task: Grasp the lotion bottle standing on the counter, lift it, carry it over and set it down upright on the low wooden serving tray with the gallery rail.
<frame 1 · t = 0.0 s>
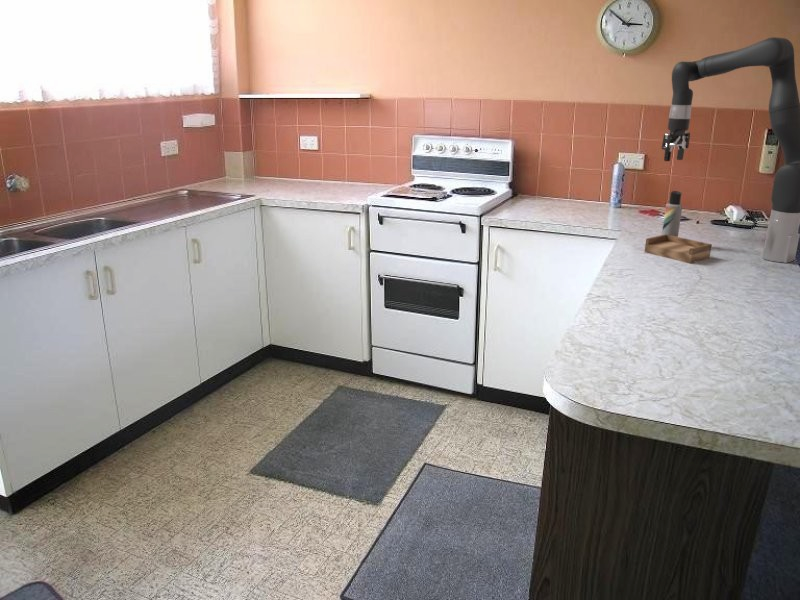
hand: (673, 160, 258), 29 cm above the worktop, fingers open, 8 cm apart
wooden serving tray: (676, 255, 237), on the worktop
lotion bottle: (668, 244, 252), on the worktop
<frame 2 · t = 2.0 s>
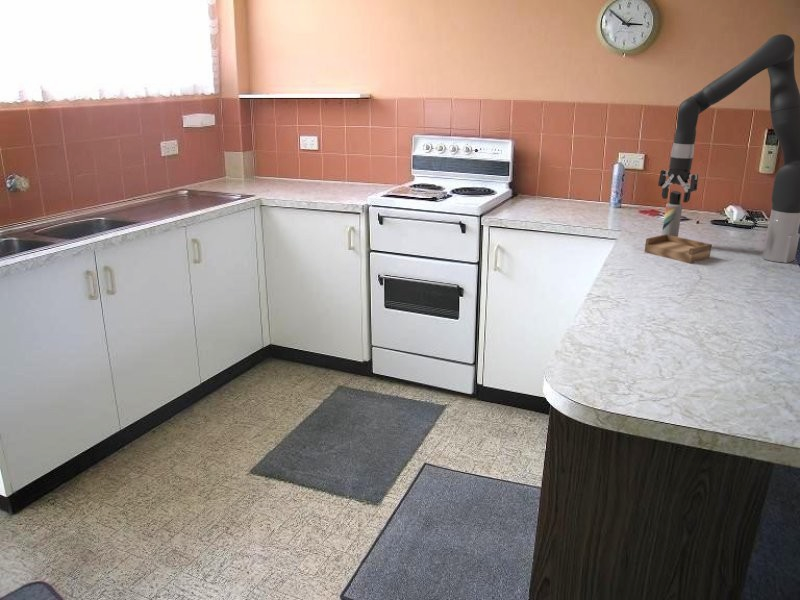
hand: (674, 200, 247), 17 cm above the worktop, fingers open, 8 cm apart
nothing on the worktop moved.
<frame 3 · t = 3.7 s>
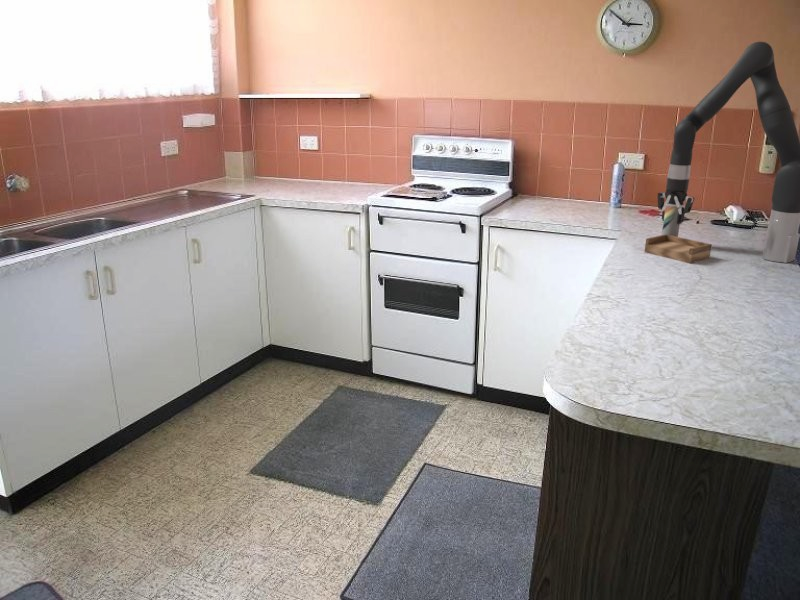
hand: (671, 222, 249), 8 cm above the worktop, fingers closed on lotion bottle, 5 cm apart
lotion bottle: (668, 244, 252), on the worktop, touching gripper
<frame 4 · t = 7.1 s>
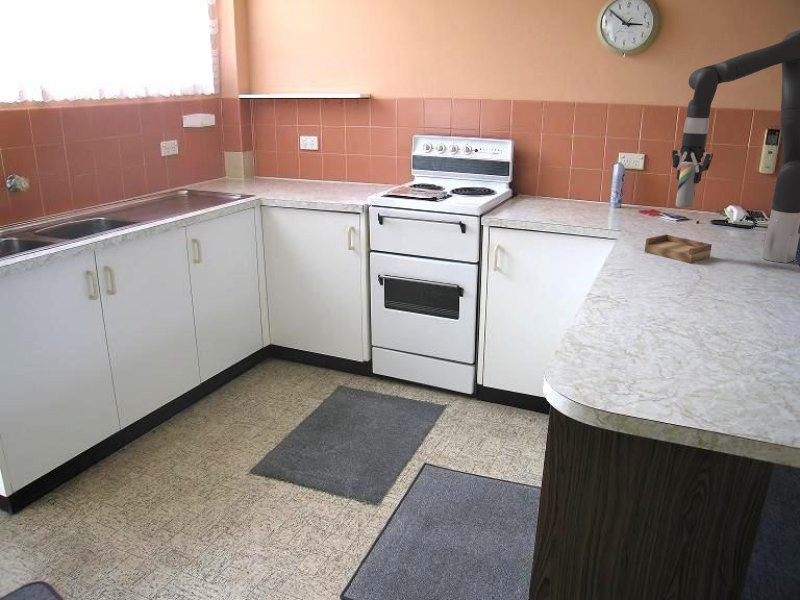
hand: (687, 181, 229), 26 cm above the worktop, fingers closed on lotion bottle, 5 cm apart
lotion bottle: (684, 206, 232), point 17 cm above the worktop, touching gripper
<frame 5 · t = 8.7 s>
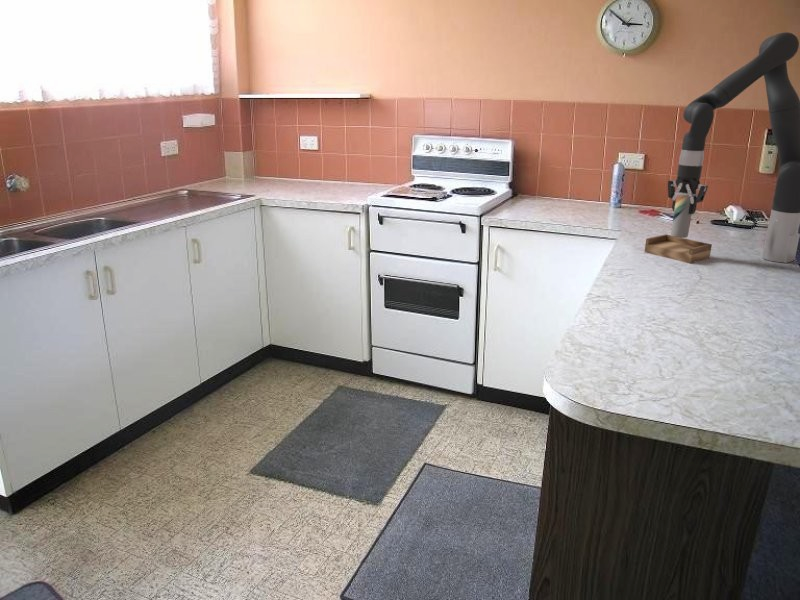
hand: (683, 212, 232), 15 cm above the worktop, fingers closed on lotion bottle, 5 cm apart
lotion bottle: (679, 236, 235), point 7 cm above the worktop, touching gripper
when the fingers open (12 cm above the worktop, at t = 10.3 s): lotion bottle stays where it is, resting on wooden serving tray.
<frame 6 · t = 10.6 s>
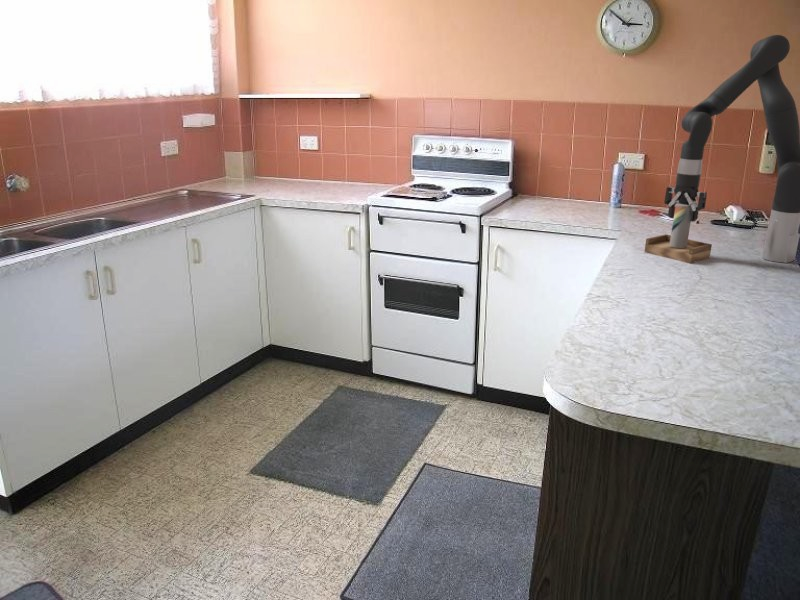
hand: (682, 219, 233), 13 cm above the worktop, fingers open, 8 cm apart
lotion bottle: (677, 247, 236), point 3 cm above the worktop, touching wooden serving tray
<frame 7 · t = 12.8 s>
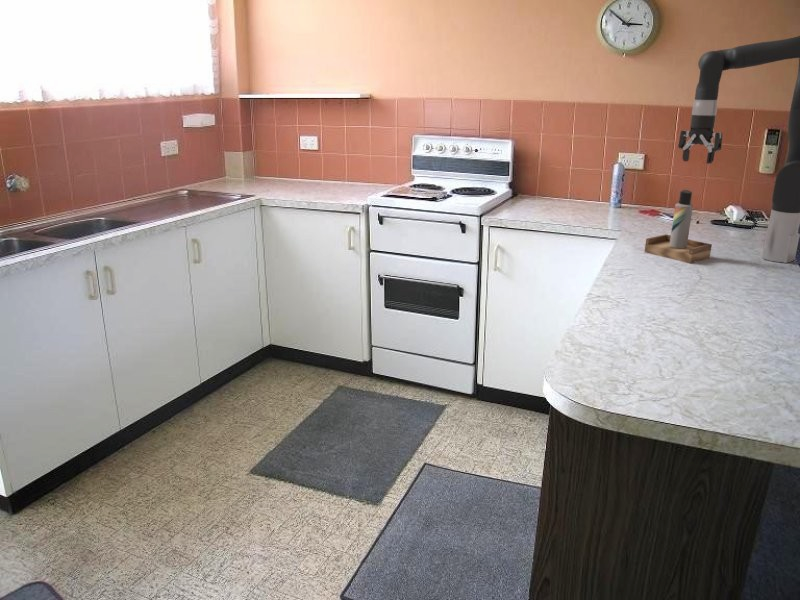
hand: (697, 162, 231), 32 cm above the worktop, fingers open, 8 cm apart
nothing on the worktop moved.
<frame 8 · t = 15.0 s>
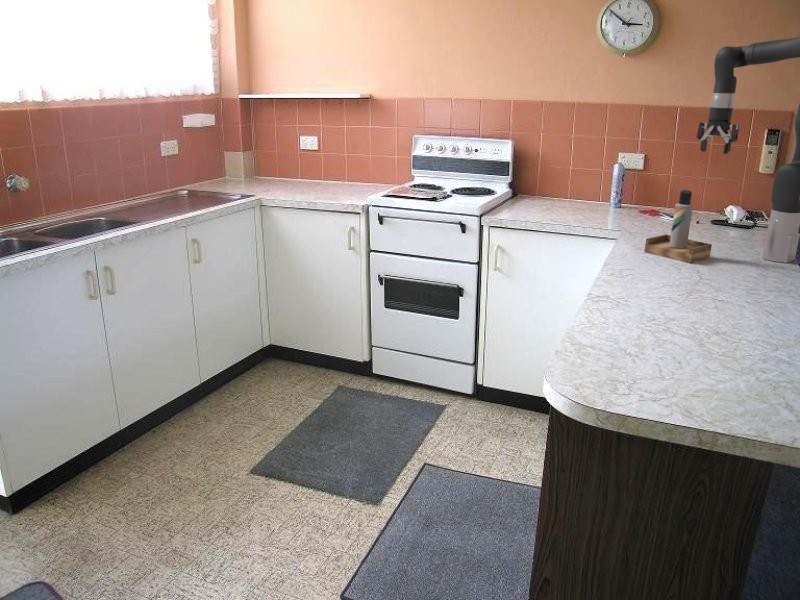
hand: (714, 152, 243), 34 cm above the worktop, fingers open, 8 cm apart
nothing on the worktop moved.
at the end: lotion bottle inside the target area on the wooden serving tray (0.3 cm from its centre), point 2.8 cm above the wooden serving tray's base; lotion bottle tilted 0°; the gripper is holding nothing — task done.
